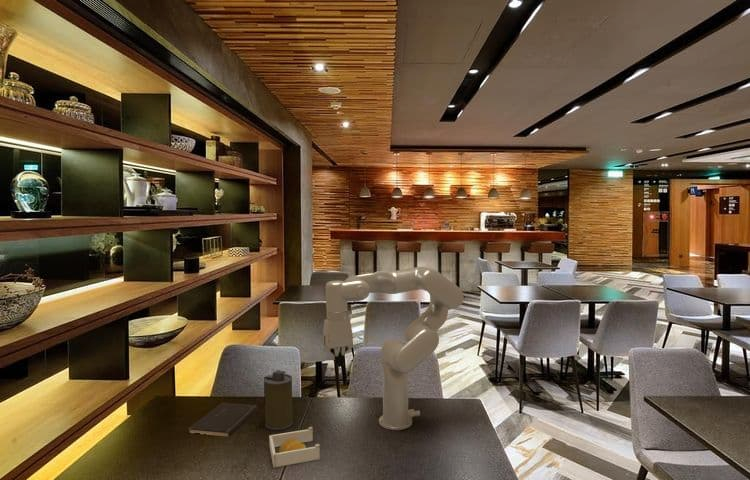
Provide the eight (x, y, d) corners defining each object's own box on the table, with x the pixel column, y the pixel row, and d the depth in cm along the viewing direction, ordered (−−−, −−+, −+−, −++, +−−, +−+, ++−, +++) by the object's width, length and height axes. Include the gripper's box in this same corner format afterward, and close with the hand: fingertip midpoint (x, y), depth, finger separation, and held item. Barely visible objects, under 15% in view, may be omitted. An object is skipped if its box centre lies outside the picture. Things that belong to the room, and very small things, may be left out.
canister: (298, 419, 169) (297, 368, 168) (284, 432, 159) (283, 377, 158) (273, 415, 173) (272, 365, 172) (258, 427, 163) (257, 374, 162)
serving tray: (312, 439, 154) (312, 426, 153) (319, 459, 141) (319, 445, 141) (269, 446, 149) (269, 433, 149) (273, 467, 136) (273, 453, 136)
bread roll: (291, 464, 139) (291, 452, 138) (275, 453, 145) (275, 442, 145) (312, 454, 144) (312, 442, 144) (296, 444, 151) (296, 433, 150)
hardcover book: (188, 434, 159) (188, 428, 159) (222, 407, 181) (222, 402, 181) (228, 438, 156) (228, 432, 155) (258, 410, 178) (258, 405, 178)
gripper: (353, 311, 163) (355, 359, 164) (314, 315, 157) (316, 366, 158) (360, 315, 156) (362, 365, 157) (319, 320, 150) (322, 372, 151)
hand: (339, 365), depth 158 cm, fingers closed
